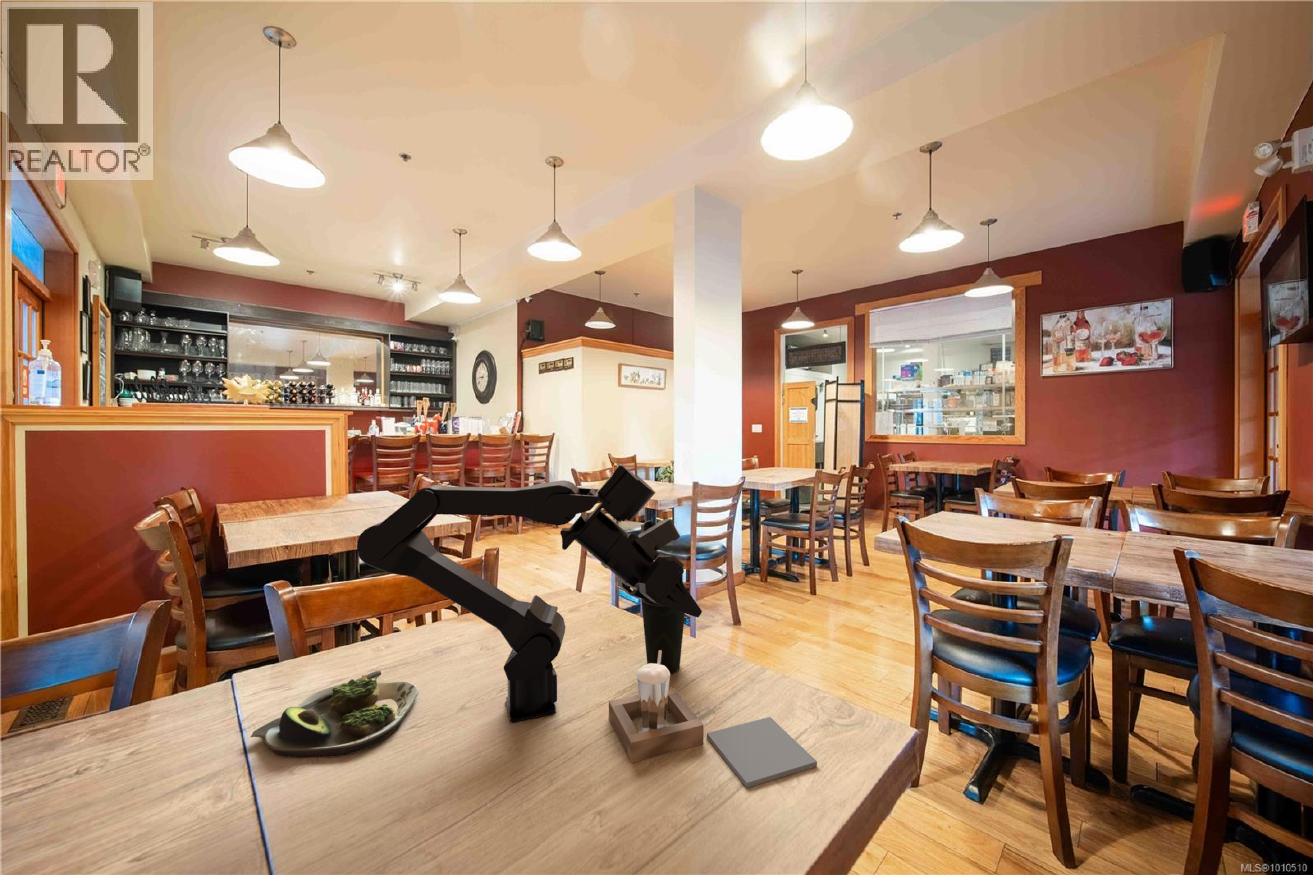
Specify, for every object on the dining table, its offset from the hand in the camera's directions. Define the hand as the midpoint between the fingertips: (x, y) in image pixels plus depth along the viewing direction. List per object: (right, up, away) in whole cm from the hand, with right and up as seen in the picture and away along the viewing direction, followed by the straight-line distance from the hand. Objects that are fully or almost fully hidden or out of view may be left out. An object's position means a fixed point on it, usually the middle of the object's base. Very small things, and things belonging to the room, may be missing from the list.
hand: (688, 611), depth 76 cm
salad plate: (-49, -14, -5) cm, 51 cm away
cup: (-4, -14, +11) cm, 18 cm away
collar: (-5, -14, -7) cm, 16 cm away
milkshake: (-5, -14, -7) cm, 17 cm away
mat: (+8, -14, -11) cm, 20 cm away
